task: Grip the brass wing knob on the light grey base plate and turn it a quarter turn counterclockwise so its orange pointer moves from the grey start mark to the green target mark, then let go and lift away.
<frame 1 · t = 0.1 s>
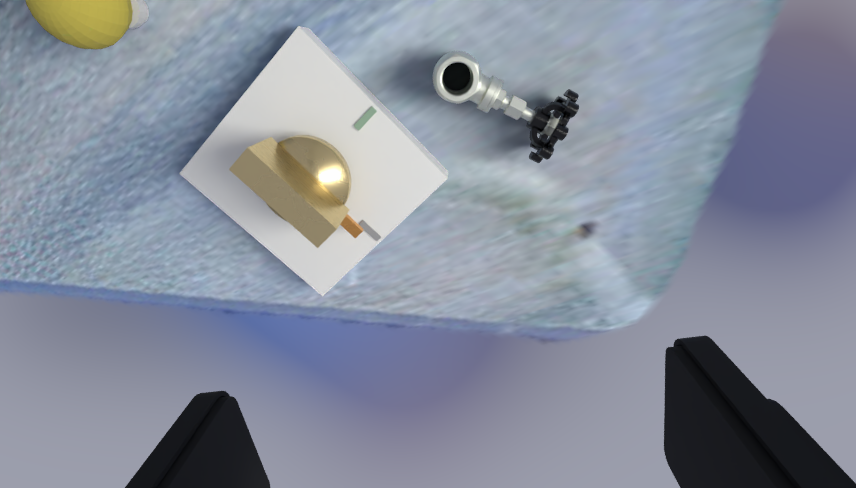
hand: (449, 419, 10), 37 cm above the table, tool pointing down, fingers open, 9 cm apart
valve: (494, 95, 43), on the table
knob: (308, 196, 40), point 7 cm above the table, hinge at 0.0°
base plate: (320, 168, 46), on the table
light bulb: (137, 10, 42), on the table
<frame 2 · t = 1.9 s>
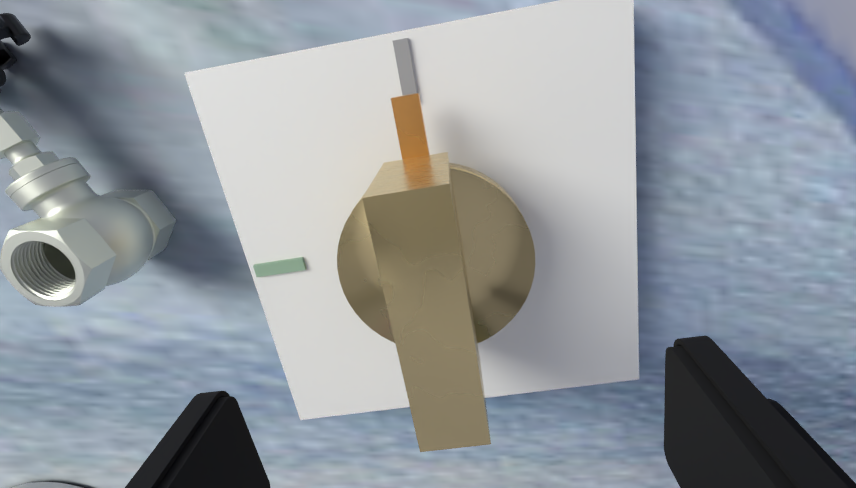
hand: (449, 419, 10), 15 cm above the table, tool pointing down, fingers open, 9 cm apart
valve: (92, 155, 24), on the table
knob: (430, 254, 17), point 7 cm above the table, hinge at 0.0°
base plate: (437, 222, 24), on the table
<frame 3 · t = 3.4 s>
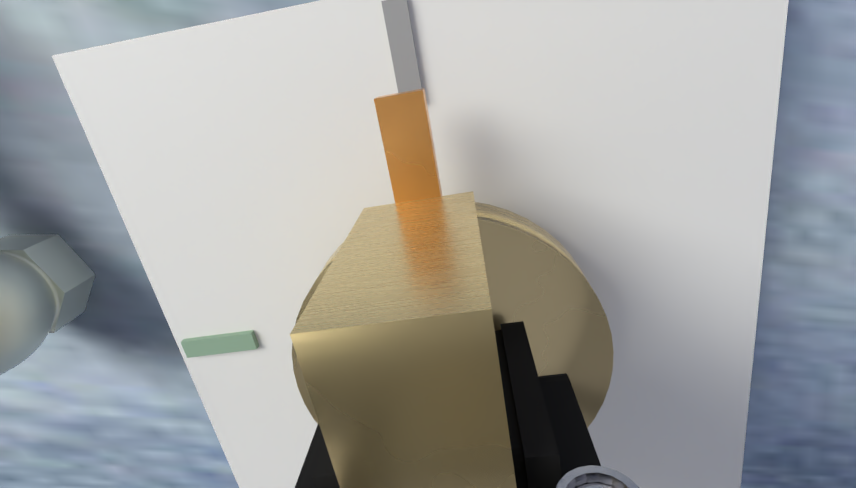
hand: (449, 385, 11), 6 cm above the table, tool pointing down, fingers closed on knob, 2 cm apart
knob: (441, 364, 10), point 7 cm above the table, hinge at 0.0°, touching gripper
base plate: (450, 271, 17), on the table
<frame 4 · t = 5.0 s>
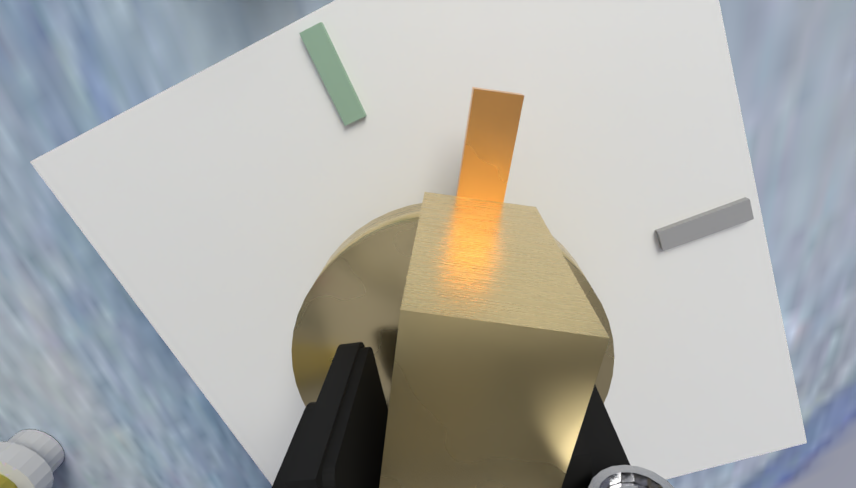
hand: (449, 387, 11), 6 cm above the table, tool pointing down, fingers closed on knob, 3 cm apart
knob: (457, 365, 10), point 7 cm above the table, hinge at 58.9°, touching gripper
base plate: (450, 271, 17), on the table
light bulb: (42, 445, 22), on the table
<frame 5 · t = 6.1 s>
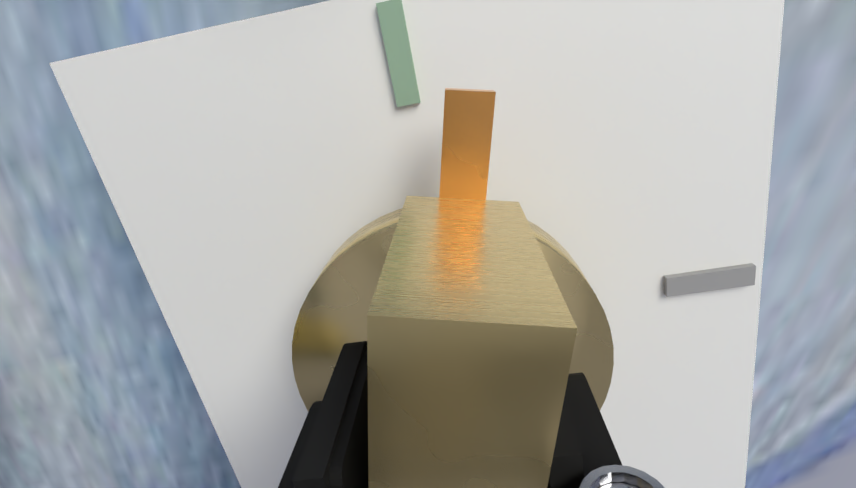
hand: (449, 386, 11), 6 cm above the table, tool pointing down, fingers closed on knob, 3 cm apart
knob: (452, 366, 10), point 7 cm above the table, hinge at 76.9°, touching gripper
base plate: (450, 272, 17), on the table
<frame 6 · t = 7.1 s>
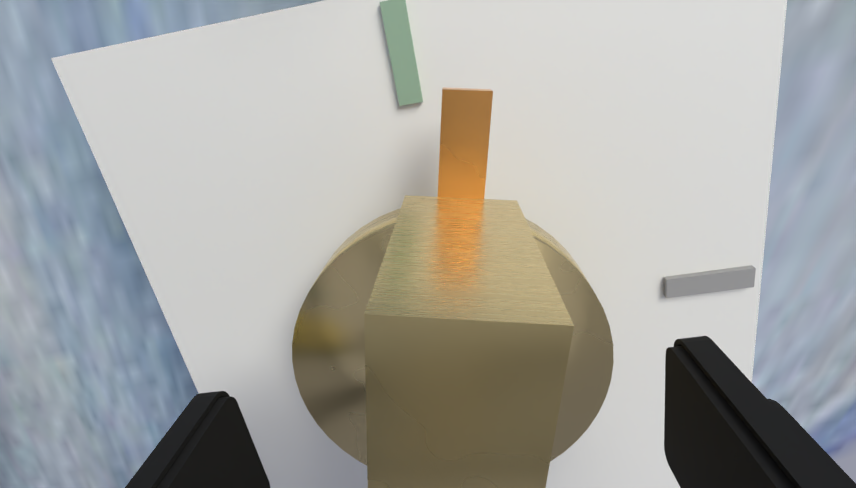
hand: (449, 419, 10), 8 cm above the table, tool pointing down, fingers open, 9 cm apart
knob: (452, 365, 10), point 7 cm above the table, hinge at 77.9°
base plate: (450, 271, 17), on the table
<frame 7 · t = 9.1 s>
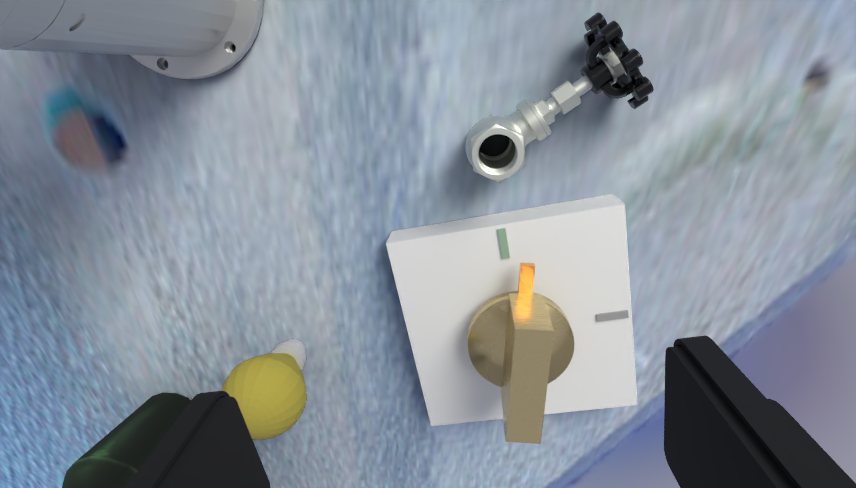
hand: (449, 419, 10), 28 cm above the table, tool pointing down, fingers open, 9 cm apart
valve: (536, 109, 35), on the table
knob: (523, 343, 34), point 7 cm above the table, hinge at 78.0°
base plate: (513, 310, 41), on the table
light bulb: (294, 348, 44), on the table
potion bottle: (177, 415, 48), on the table
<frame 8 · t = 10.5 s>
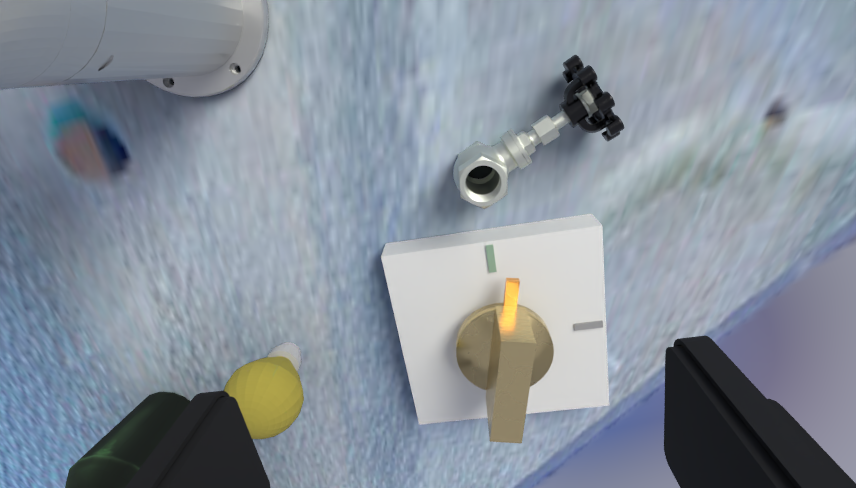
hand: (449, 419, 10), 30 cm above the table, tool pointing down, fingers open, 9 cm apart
valve: (518, 136, 38), on the table
knob: (507, 351, 37), point 7 cm above the table, hinge at 78.0°
base plate: (498, 317, 44), on the table
light bulb: (289, 351, 46), on the table
potion bottle: (173, 413, 50), on the table
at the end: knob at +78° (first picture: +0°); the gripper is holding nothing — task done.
